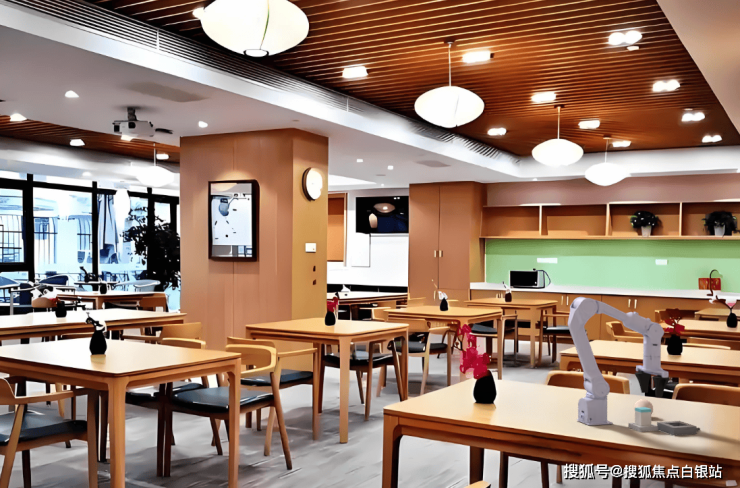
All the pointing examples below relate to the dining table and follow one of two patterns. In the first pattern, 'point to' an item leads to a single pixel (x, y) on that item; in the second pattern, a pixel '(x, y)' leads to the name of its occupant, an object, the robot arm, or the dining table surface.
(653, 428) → the tray
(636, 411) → the plug
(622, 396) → the dining table surface
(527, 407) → the dining table surface
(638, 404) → the light bulb
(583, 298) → the robot arm
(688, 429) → the panel
